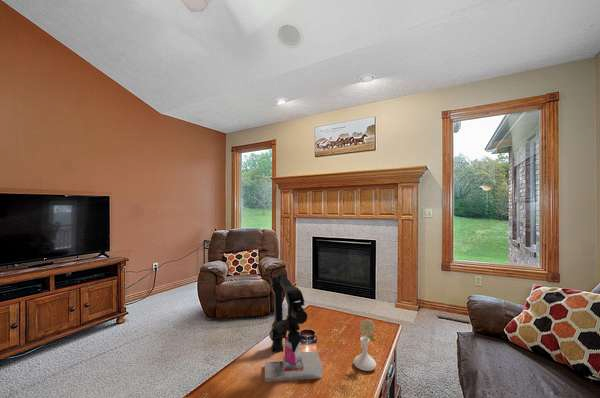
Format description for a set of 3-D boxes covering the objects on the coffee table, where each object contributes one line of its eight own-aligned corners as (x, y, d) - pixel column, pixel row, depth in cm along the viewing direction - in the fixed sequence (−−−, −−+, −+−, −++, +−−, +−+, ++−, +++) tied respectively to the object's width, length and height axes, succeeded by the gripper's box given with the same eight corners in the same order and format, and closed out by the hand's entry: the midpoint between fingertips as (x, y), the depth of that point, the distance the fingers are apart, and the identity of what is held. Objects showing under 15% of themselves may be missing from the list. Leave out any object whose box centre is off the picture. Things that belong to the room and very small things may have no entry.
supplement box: (291, 355, 133) (292, 333, 133) (300, 360, 129) (301, 336, 130) (284, 361, 129) (284, 337, 129) (293, 365, 125) (293, 341, 125)
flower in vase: (349, 362, 137) (349, 314, 138) (366, 358, 142) (367, 311, 142) (364, 377, 125) (364, 324, 126) (383, 372, 130) (383, 321, 130)
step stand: (264, 366, 133) (265, 354, 133) (317, 363, 136) (317, 351, 137) (264, 381, 121) (264, 368, 121) (322, 378, 124) (322, 365, 125)
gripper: (276, 308, 138) (275, 338, 137) (277, 324, 119) (277, 359, 119) (297, 307, 139) (296, 337, 139) (302, 323, 121) (301, 357, 120)
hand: (292, 347), depth 129 cm, fingers closed on supplement box, 8 cm apart
